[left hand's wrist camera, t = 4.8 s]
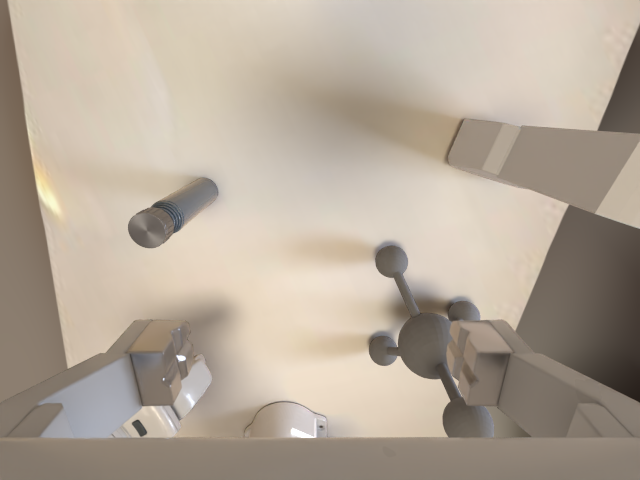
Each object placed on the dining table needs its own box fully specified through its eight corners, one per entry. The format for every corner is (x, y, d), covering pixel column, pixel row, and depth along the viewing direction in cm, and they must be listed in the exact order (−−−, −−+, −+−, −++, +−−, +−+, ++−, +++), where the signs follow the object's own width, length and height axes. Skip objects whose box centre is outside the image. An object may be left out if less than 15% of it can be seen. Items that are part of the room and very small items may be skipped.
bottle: (186, 191, 58) (121, 230, 39) (201, 172, 56) (142, 203, 38) (207, 208, 59) (154, 255, 40) (223, 190, 58) (175, 228, 39)
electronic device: (532, 141, 55) (757, 172, 26) (509, 185, 57) (693, 257, 29) (461, 116, 53) (620, 122, 25) (441, 163, 56) (565, 215, 28)
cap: (130, 225, 40) (120, 232, 38) (150, 199, 39) (140, 204, 37) (161, 248, 42) (152, 255, 39) (181, 223, 40) (173, 229, 38)
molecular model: (321, 325, 67) (322, 480, 39) (383, 234, 60) (439, 342, 32) (418, 373, 71) (482, 544, 43) (487, 293, 64) (616, 434, 36)
